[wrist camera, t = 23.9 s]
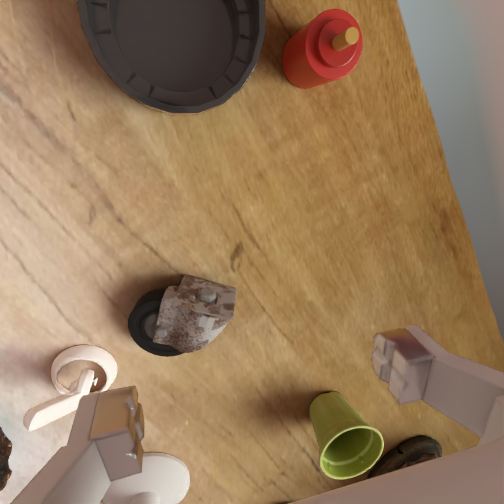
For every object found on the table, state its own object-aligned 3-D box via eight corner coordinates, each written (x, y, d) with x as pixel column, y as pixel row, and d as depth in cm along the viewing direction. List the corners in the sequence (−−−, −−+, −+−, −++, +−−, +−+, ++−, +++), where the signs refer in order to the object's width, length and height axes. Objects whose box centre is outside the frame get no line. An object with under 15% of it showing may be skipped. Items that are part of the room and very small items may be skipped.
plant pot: (286, 416, 52) (306, 468, 44) (324, 372, 51) (352, 417, 43) (327, 436, 56) (353, 486, 48) (364, 395, 54) (396, 440, 46)
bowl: (61, 47, 31) (41, 32, 26) (145, -116, 28) (139, -163, 24) (201, 145, 36) (205, 147, 32) (282, 16, 34) (298, -3, 29)
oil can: (271, 66, 35) (306, 42, 26) (301, 19, 34) (349, -24, 25) (309, 99, 37) (354, 88, 28) (338, 55, 36) (395, 28, 27)
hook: (-4, 352, 34) (47, 379, 32) (87, 330, 45) (128, 349, 43) (-22, 421, 34) (26, 453, 32) (73, 382, 46) (113, 404, 44)
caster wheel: (136, 324, 44) (148, 259, 40) (218, 345, 45) (238, 284, 41) (116, 359, 38) (127, 288, 34) (211, 383, 39) (233, 316, 35)
